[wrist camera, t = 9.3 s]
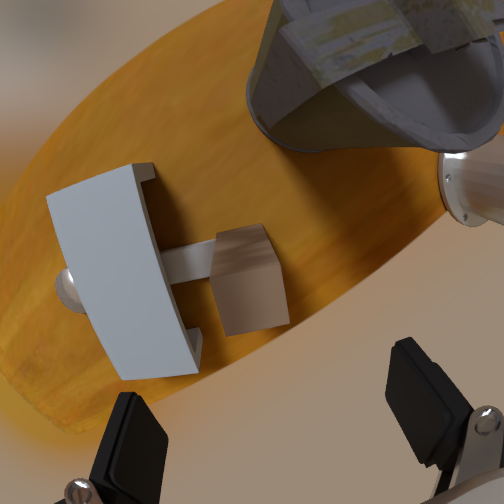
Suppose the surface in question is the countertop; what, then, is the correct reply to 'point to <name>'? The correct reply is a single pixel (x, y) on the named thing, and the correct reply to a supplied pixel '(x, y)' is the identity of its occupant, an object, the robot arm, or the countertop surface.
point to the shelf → (123, 274)
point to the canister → (380, 74)
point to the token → (68, 292)
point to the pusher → (235, 277)
